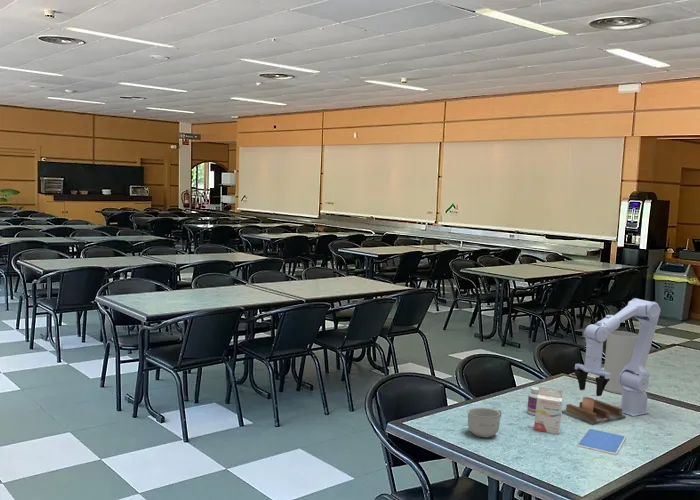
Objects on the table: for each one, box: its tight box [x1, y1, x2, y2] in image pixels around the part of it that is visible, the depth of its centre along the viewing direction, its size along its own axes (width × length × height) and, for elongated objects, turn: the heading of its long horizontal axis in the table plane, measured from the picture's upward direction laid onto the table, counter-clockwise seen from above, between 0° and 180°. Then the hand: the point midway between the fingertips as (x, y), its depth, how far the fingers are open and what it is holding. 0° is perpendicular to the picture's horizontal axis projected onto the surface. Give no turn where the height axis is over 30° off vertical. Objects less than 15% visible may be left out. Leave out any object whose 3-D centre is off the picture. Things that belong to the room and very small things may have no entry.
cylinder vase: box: [603, 330, 638, 395], centre depth 289 cm, size 12×12×25 cm
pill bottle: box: [526, 386, 539, 416], centre depth 251 cm, size 5×5×10 cm
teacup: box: [467, 407, 502, 438], centre depth 226 cm, size 14×11×8 cm
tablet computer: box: [576, 428, 627, 456], centre depth 225 cm, size 19×13×1 cm, turn 149°
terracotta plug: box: [581, 396, 595, 412], centre depth 251 cm, size 4×4×6 cm
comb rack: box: [561, 399, 627, 426], centre depth 253 cm, size 19×14×4 cm
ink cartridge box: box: [533, 385, 563, 435], centre depth 233 cm, size 9×5×15 cm, turn 71°
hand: (590, 392), depth 250 cm, fingers open, 7 cm apart
